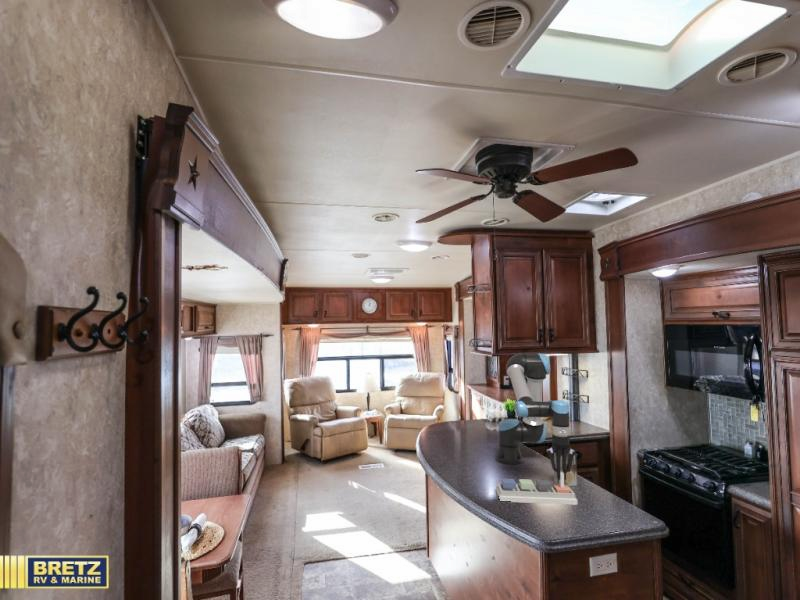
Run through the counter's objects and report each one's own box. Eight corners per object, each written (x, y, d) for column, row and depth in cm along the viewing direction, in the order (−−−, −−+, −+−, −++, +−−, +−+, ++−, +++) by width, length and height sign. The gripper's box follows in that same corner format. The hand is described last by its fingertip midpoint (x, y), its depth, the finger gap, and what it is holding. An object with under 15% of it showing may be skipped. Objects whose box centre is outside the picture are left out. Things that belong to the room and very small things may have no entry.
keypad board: (496, 490, 206) (496, 481, 206) (568, 493, 203) (568, 484, 204) (500, 501, 193) (500, 492, 194) (577, 504, 190) (577, 495, 191)
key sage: (519, 484, 202) (518, 479, 202) (531, 485, 202) (531, 479, 202) (521, 489, 196) (521, 483, 197) (533, 489, 196) (533, 484, 196)
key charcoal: (536, 485, 201) (536, 479, 201) (548, 485, 201) (548, 480, 201) (539, 489, 196) (539, 484, 196) (551, 490, 195) (551, 484, 195)
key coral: (553, 490, 201) (553, 484, 201) (566, 490, 200) (565, 485, 200) (557, 494, 195) (557, 489, 195) (569, 495, 194) (569, 489, 195)
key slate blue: (501, 483, 203) (501, 478, 203) (513, 484, 202) (513, 478, 202) (503, 488, 197) (503, 482, 197) (516, 488, 197) (515, 483, 197)
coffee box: (569, 481, 219) (568, 449, 220) (577, 485, 213) (577, 453, 214) (553, 483, 217) (553, 450, 217) (561, 487, 210) (561, 454, 211)
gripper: (548, 436, 196) (549, 489, 194) (577, 437, 195) (578, 490, 193) (544, 432, 203) (545, 483, 202) (572, 433, 202) (573, 484, 201)
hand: (561, 486), depth 198 cm, fingers closed
